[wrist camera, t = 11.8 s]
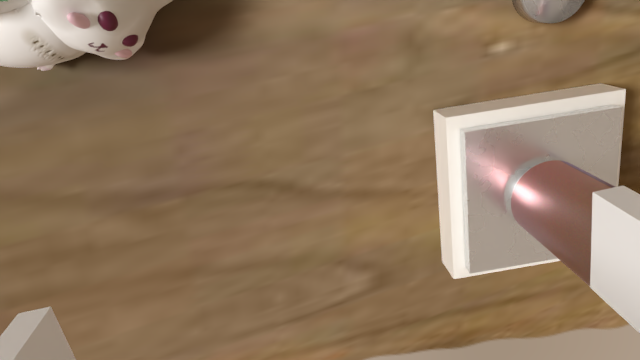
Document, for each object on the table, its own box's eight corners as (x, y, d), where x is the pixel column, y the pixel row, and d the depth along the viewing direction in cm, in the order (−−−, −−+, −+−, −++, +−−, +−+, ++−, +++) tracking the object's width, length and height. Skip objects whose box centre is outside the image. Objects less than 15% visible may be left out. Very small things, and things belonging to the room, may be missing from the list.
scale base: (433, 109, 39) (445, 117, 36) (603, 82, 40) (628, 88, 37) (442, 261, 44) (453, 279, 41) (593, 235, 44) (615, 251, 42)
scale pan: (459, 129, 37) (464, 132, 36) (613, 104, 37) (622, 106, 36) (465, 267, 41) (470, 273, 40) (603, 243, 41) (611, 249, 40)
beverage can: (590, 162, 37) (783, 255, 23) (566, 232, 39) (731, 357, 25) (518, 153, 37) (673, 243, 22) (497, 225, 38) (628, 350, 24)
